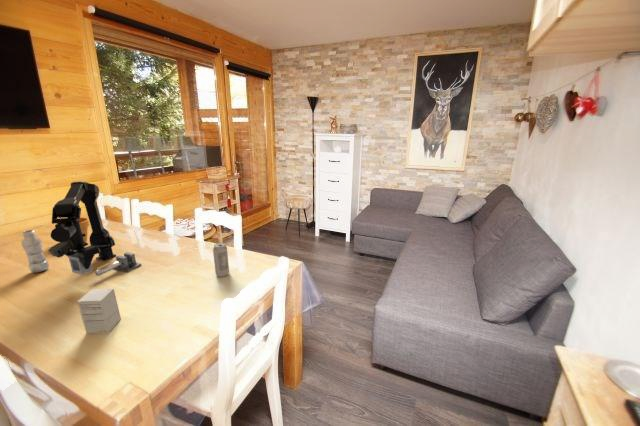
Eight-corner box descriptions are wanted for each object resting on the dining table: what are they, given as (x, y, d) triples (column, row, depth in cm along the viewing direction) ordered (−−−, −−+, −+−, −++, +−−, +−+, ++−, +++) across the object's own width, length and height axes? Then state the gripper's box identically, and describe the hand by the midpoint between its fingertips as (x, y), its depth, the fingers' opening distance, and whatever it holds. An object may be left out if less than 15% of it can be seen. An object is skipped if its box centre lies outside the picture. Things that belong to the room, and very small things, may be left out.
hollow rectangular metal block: (72, 272, 119) (68, 255, 117) (83, 267, 123) (78, 251, 121) (82, 274, 117) (78, 258, 115) (93, 270, 121) (88, 254, 118)
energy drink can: (225, 270, 137) (222, 241, 132) (231, 274, 133) (229, 245, 128) (213, 274, 133) (210, 244, 128) (219, 279, 129) (216, 248, 124)
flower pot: (97, 240, 169) (92, 220, 165) (67, 248, 158) (61, 227, 154) (87, 235, 176) (82, 216, 173) (57, 243, 165) (51, 222, 161)
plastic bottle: (53, 268, 136) (42, 229, 130) (36, 275, 130) (23, 234, 124) (44, 266, 138) (33, 228, 132) (27, 273, 132) (14, 233, 126)
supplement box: (99, 319, 101) (91, 288, 97) (121, 318, 102) (114, 287, 98) (85, 334, 94) (76, 301, 90) (108, 333, 95) (100, 300, 91)
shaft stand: (91, 278, 128) (88, 265, 126) (127, 262, 143) (124, 250, 142) (106, 282, 125) (103, 269, 123) (141, 265, 140) (139, 254, 138)
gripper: (34, 236, 111) (45, 272, 115) (65, 243, 105) (75, 280, 109) (66, 227, 121) (75, 260, 125) (96, 233, 115) (104, 267, 119)
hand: (82, 267), depth 120 cm, fingers closed on hollow rectangular metal block, 6 cm apart
